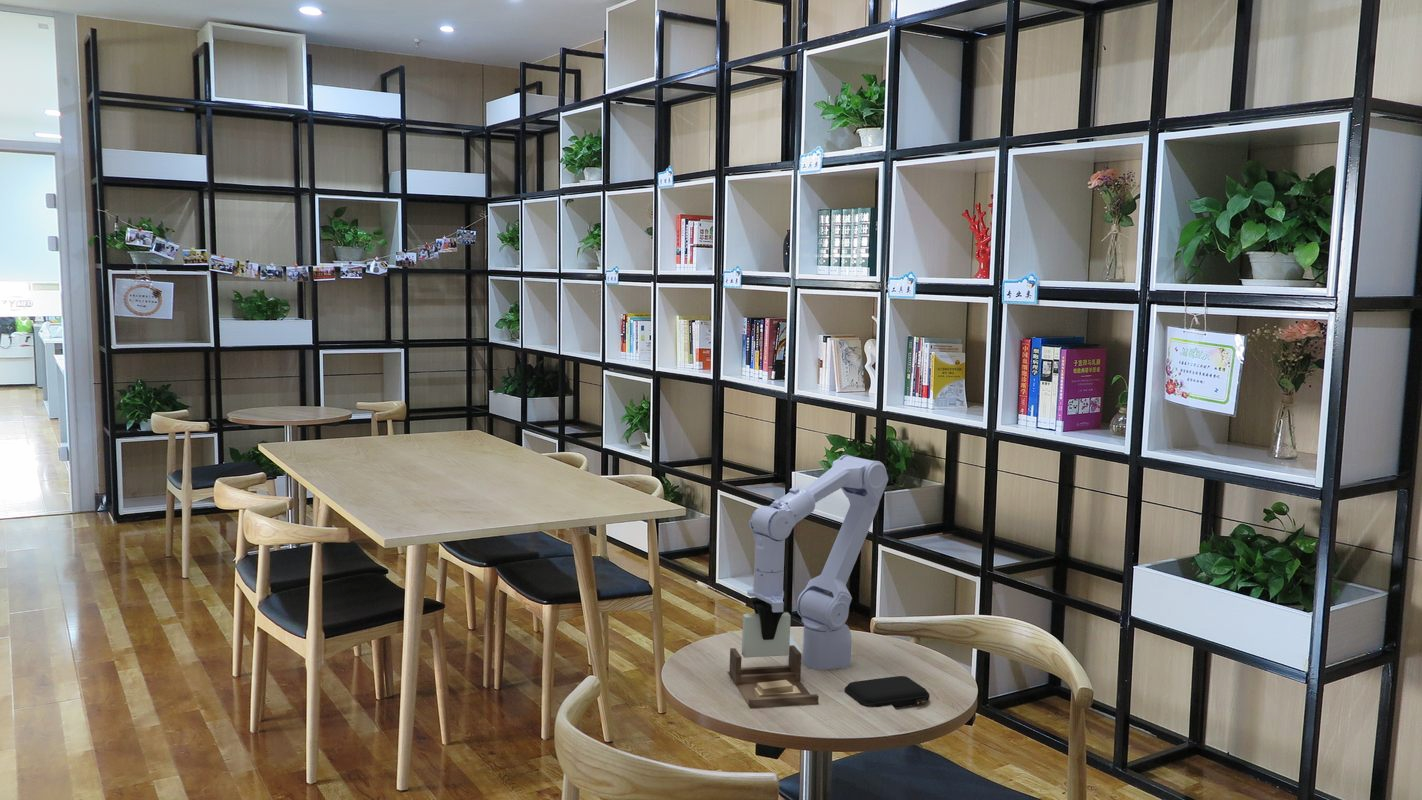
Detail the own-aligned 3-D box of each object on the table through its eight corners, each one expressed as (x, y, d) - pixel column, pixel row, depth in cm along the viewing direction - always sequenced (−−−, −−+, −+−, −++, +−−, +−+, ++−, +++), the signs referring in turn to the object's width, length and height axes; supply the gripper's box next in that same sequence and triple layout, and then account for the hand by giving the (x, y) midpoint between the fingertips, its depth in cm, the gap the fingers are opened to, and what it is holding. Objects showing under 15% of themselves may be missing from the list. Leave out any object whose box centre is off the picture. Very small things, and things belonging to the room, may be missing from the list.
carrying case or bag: (868, 717, 195) (936, 708, 200) (869, 701, 195) (937, 692, 200) (840, 695, 205) (906, 687, 210) (840, 680, 204) (907, 672, 210)
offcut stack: (795, 691, 203) (795, 679, 202) (801, 699, 199) (801, 686, 199) (754, 693, 201) (754, 681, 201) (759, 701, 197) (760, 689, 197)
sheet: (786, 651, 210) (787, 612, 209) (789, 655, 208) (790, 615, 207) (741, 654, 208) (743, 614, 207) (744, 657, 206) (745, 617, 205)
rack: (789, 673, 215) (791, 641, 214) (818, 709, 197) (819, 675, 196) (726, 676, 212) (727, 644, 211) (749, 713, 194) (751, 679, 194)
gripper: (739, 559, 212) (737, 625, 214) (758, 580, 198) (756, 650, 200) (773, 558, 214) (771, 624, 215) (795, 578, 200) (792, 649, 201)
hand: (766, 636), depth 208 cm, fingers closed on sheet, 2 cm apart
